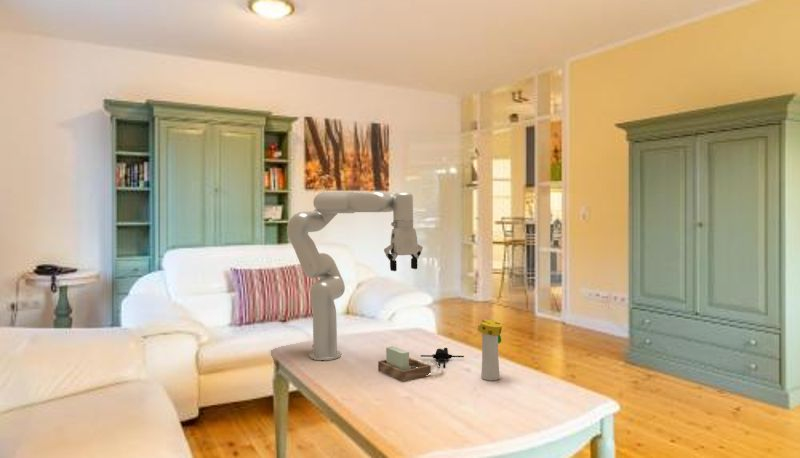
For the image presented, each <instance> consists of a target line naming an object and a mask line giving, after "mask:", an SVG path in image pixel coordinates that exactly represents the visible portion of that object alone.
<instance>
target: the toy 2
mask: <svg viewBox="0 0 800 458" xmlns="http://www.w3.org/2000/svg"><path fill="white" fill-rule="evenodd" d="M502 329H503V324H502V323H501V322H498V321H495V320H491V319H485V318H482V320H481V323H479V324H478V325H477V331H478V332H479V333H481V337H482V338H481V339H482V340H481V342H482V343H481V344H482V345H481V350H482V353H481V360H482V361H481V379H483V380H485V381H498V380H499V379H500V363H499V361H500V360H499V344H500V343H502V337H501V335H502V331H503V330H502Z"/></svg>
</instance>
